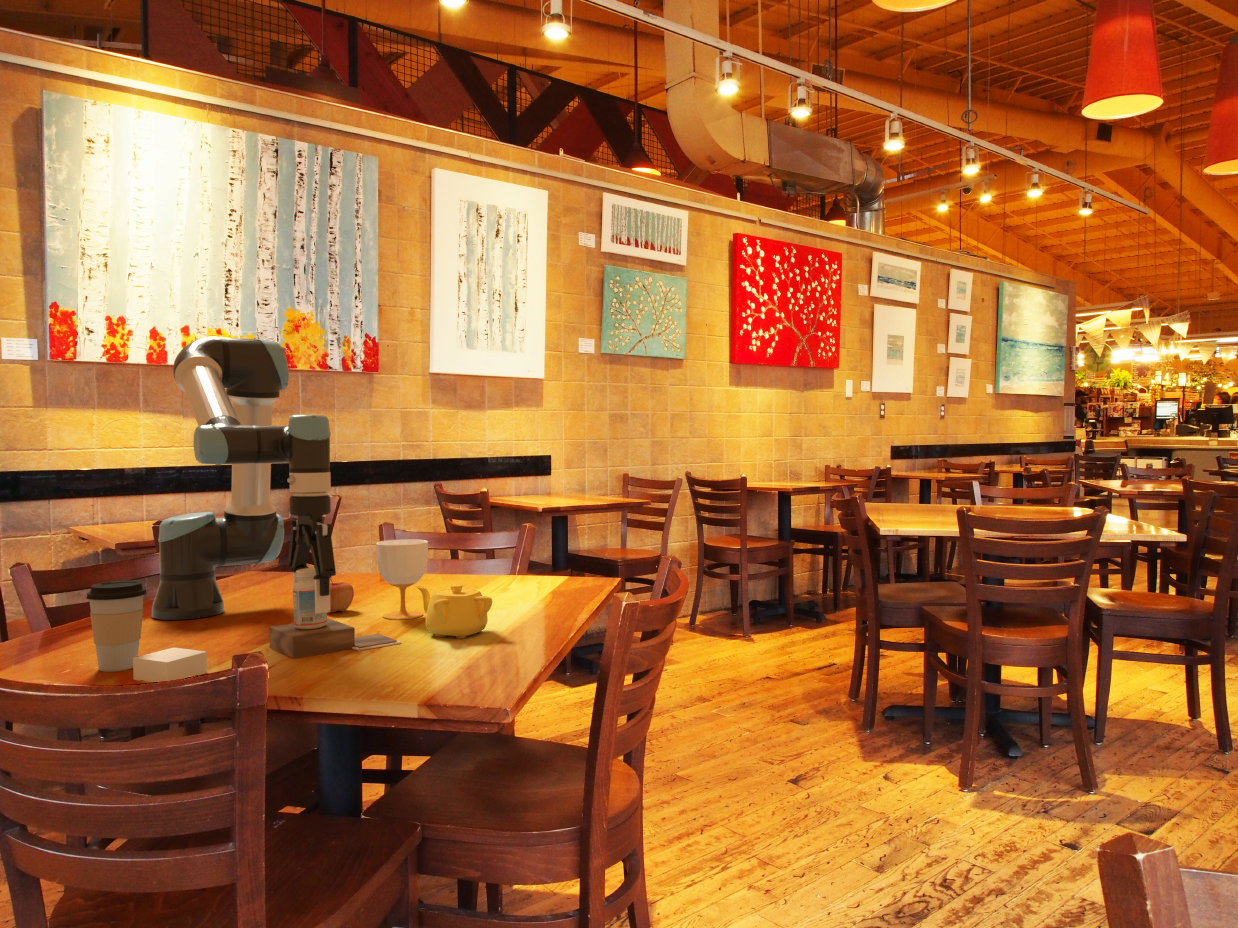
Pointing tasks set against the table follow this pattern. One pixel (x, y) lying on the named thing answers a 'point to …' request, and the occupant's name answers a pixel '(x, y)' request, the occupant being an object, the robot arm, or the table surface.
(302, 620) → the pill bottle
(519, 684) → the table surface
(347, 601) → the apple
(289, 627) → the walnut block
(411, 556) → the cup
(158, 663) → the beige block
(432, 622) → the teapot
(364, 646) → the tile
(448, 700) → the table surface
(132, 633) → the coffee cup
